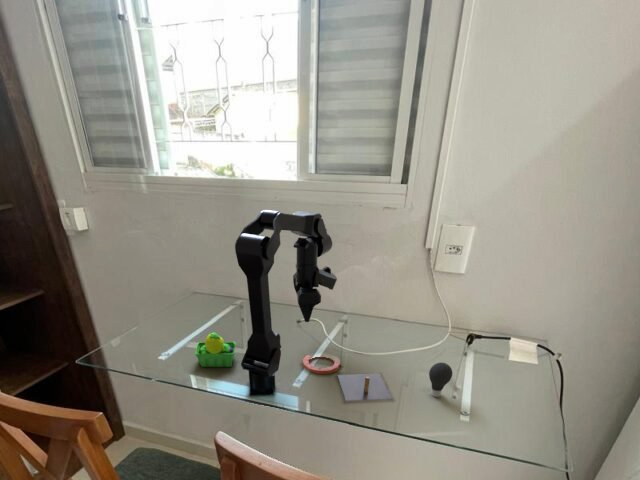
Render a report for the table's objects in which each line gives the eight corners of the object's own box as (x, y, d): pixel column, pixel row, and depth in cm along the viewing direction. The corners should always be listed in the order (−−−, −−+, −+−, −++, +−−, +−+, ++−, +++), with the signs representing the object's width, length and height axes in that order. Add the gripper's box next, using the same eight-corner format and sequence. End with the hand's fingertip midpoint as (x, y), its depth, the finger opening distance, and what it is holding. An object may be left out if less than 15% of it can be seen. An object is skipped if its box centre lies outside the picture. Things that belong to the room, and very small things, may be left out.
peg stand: (345, 402, 108) (347, 386, 105) (337, 376, 118) (338, 361, 115) (392, 400, 109) (395, 384, 106) (379, 375, 119) (382, 359, 116)
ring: (305, 376, 119) (305, 371, 118) (301, 357, 127) (301, 353, 126) (342, 374, 119) (342, 369, 118) (336, 356, 128) (336, 352, 127)
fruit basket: (237, 356, 128) (234, 322, 121) (235, 371, 121) (232, 335, 114) (200, 357, 128) (195, 322, 121) (196, 371, 121) (190, 336, 114)
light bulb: (446, 393, 111) (455, 360, 105) (445, 404, 107) (454, 371, 101) (424, 389, 113) (432, 357, 107) (423, 400, 109) (430, 367, 103)
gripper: (341, 272, 107) (337, 327, 116) (330, 252, 122) (327, 303, 131) (298, 273, 106) (298, 329, 116) (293, 252, 121) (292, 303, 131)
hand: (305, 315), depth 123 cm, fingers open, 9 cm apart
